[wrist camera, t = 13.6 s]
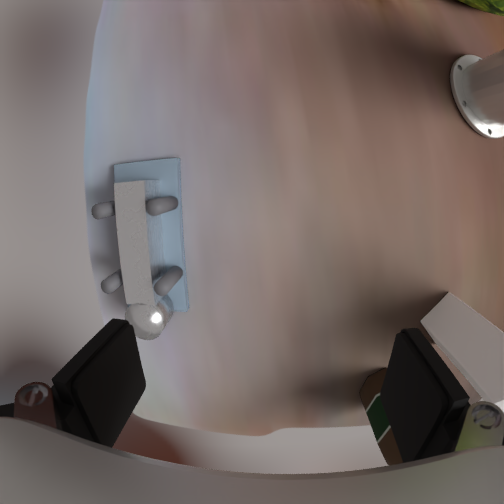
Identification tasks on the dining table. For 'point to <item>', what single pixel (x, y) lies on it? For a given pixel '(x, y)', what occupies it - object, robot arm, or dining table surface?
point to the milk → (470, 345)
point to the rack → (172, 225)
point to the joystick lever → (141, 257)
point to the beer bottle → (379, 417)
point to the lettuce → (487, 5)
